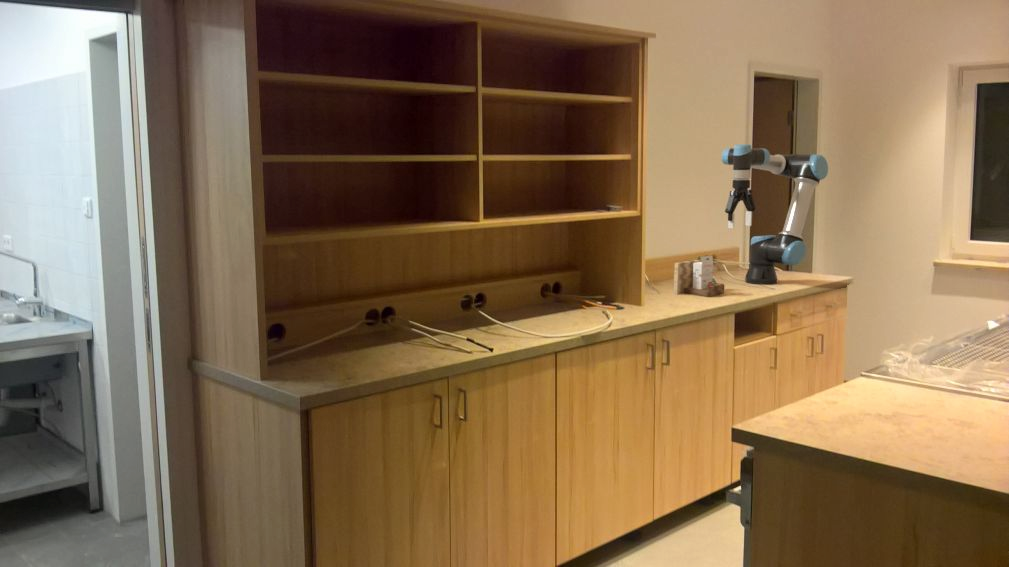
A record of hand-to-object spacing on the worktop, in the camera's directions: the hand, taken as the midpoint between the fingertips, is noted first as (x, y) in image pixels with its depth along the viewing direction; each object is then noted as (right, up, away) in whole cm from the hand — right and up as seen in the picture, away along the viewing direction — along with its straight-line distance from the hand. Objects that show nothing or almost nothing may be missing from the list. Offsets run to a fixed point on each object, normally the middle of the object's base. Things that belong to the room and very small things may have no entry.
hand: (739, 227), depth 381 cm
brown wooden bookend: (-17, -30, 0) cm, 34 cm away
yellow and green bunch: (-12, -26, +27) cm, 39 cm away
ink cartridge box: (-17, -28, -1) cm, 33 cm away
